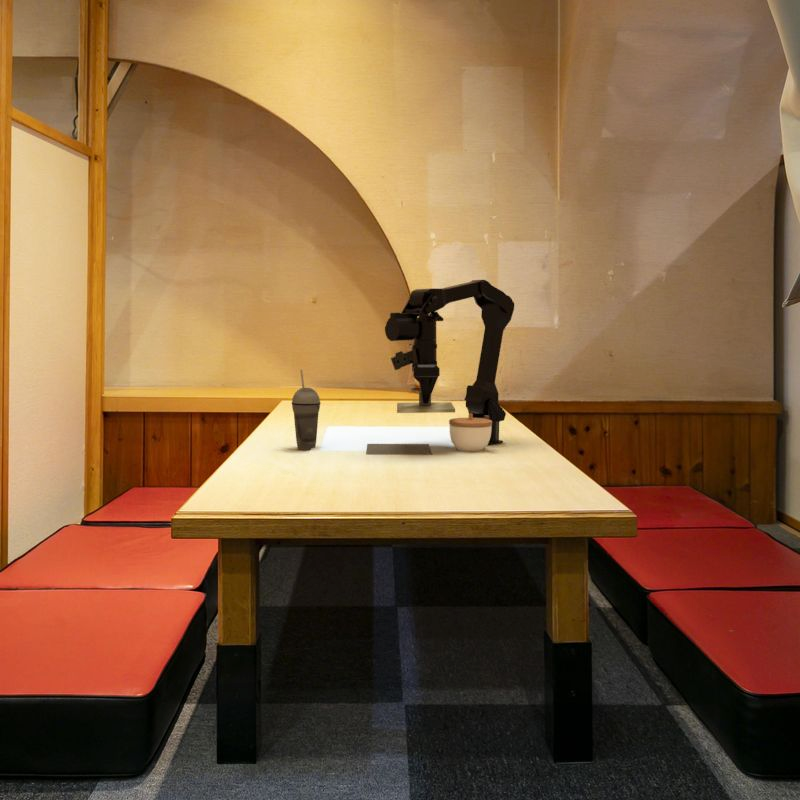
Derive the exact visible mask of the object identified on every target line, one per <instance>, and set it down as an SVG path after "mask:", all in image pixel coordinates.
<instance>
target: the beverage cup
mask: <svg viewBox="0 0 800 800" xmlns="http://www.w3.org/2000/svg"><path fill="white" fill-rule="evenodd" d="M299 371H300V378H301V379H300V380H301V386H302V387H301V388H299V389H297V390H296V391H295V392H294V394H293V396H292V400H291V405H292V406H291V407H292V412H293V421H294V429H295V440H296V446H297V448H296V449H297V450H299V451H310V450H311V449H315V448H316V445H317V438H318V437H317V435H318V423H319V422H318V421H319V412H320V407H321V399H320V396H319V394H318V392H317V391H316V390H315V389H313V388H312V387H305V381H304V373H303V369H300V370H299Z"/></svg>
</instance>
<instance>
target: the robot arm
mask: <svg viewBox="0 0 800 800" xmlns="http://www.w3.org/2000/svg"><path fill="white" fill-rule="evenodd" d="M470 298H474V301H475V304H476V305H477V306H478V307H479V308H480V309H481V313H480V314H481V319H482V323H483V325H484V333H483V336H482V337H483V339H482V343H481V344H482V345H481V350H480V356H479V362H478V368H477V374H476V380H475V381H474V383H472V385H471V384H469V385H467V386H466V394H465V397H464V399H463V400H464V401H465V408H466V409H467V412H468V415H469V414H473V418H484V419H489V420H492V429H491V437H490V441H489V443H488V444H487V445H493V444H502V443H504V440H502V439H500V422H501V421H502V422H503V421H505V419H506V415H507V412H506V411H505V409H503V407H502V406H501V405H500V403H499V391H498V388H497V385H496V378H497V372H498V371H497V370H498V364H499V360H500V352H501V347H502V341H503V335H504V331H505V329H506V327H507V326H508V325H509V323H510V322H511V321H512V317H513V315H514V311H515V302H514V300H513V299H512V298H511V296H509V295H508V294H506V293H505V292H504V291H503V290H501V289H500V288H497V287H495V286H493V285H492V284H491V283H490V282H489V281H488V280H486V279H474V280H471V281H469V282H464V283H460V284H455V285H450V286H447V287H441V288H419V289H417V288H415V289H413V290H412V291H411V292H410V295H409V298H408V300H407V302H406V303H405V306H404V307H403V309H402V311H401V312H390V315H389V317H390V318H388V319H387V321H386V324H385V326H384V333H385V335H386V338H387V340H389V341H390V342H399V341H400V342H403V341H407V342H408V341H413V343H412V345H411V349H410V350H407V351H404V352H403V351H402V350H399V351H397V352H395V355H394V356H392V357H390V361H391V363H392V366H393V369H394V371H397V370H398V371H399V370H401V368H403V367H407V366H408V365H411V372H413V373H412V376H413V378H414V379H415V380H416V381H417V382H418V383H419V388H420V392H421V393H422V399H423V403H424V404H427V403H428V401H429V399H430V396H431V397H432V394H433V391H434V388H435V387H436V386H435V385H436V384H437V381H438V379H439V377H440V371H441V370H440V367H439V366H438V359H437V358H438V357H437V350H438V344H437V322H443V321H444V317H442V316H441V315H440V314H439V313H438V311H439V310H441V309H443V308H445V307H446V305H449V304H450V303H453V302H457V301H462V300H466V299H470Z"/></svg>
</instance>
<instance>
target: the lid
mask: <svg viewBox="0 0 800 800" xmlns="http://www.w3.org/2000/svg"><path fill="white" fill-rule="evenodd" d="M396 413H398V414H413V413H414V414H415V413H416V414H418V413H419V414H420V413H421V414H424V413H425V414H426V413H429V414H430V413H431V414H432V413H434V414H435V413H440V414H441V413H456V408H455V406H454V404H453V403H452V402H450V401H448V402H446V401H445V402H443V401H442V402H441V401H440V402H432V395H431V396H430V399H429V401H428V403H427V404H424V403H423V399H422V393H421V391H419V392H418V402H397V403H396Z"/></svg>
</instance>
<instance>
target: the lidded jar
mask: <svg viewBox="0 0 800 800" xmlns="http://www.w3.org/2000/svg"><path fill="white" fill-rule="evenodd" d="M448 422H449V423H448V424H449V436H450V440H451V443H452V444H453V446H454V447H455V448H456V449H457V450H459V451H462V452H481V451H483V450H484V449H485V448H487V446H488V445H489V444H488V443H489V441H490V437H491V429H492V420H489V419H484V418H473V414H469V413H468V417H455V418H450V419H449V420H448Z"/></svg>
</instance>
